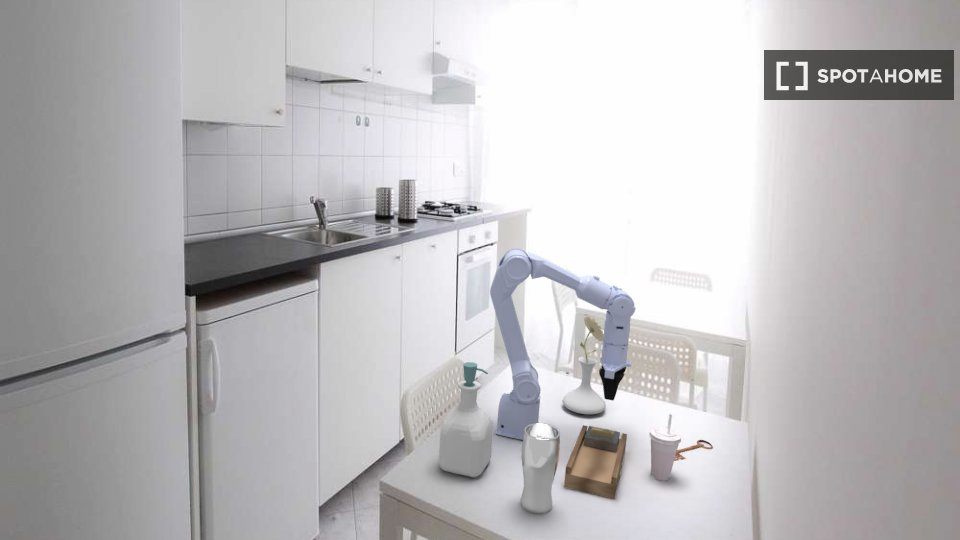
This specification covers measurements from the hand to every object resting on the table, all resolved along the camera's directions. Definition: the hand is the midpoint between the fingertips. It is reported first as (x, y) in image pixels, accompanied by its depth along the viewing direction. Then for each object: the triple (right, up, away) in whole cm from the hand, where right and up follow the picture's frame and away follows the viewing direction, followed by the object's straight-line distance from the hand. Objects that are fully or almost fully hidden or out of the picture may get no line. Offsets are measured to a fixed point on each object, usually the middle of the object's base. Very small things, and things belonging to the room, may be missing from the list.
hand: (609, 397), depth 134 cm
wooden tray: (-6, -13, -12) cm, 18 cm away
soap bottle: (-34, -12, -14) cm, 38 cm away
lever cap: (-3, -9, -7) cm, 12 cm away
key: (+18, -13, -2) cm, 22 cm away
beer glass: (-20, -15, -26) cm, 36 cm away
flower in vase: (-3, -7, +19) cm, 20 cm away
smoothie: (+8, -14, -13) cm, 21 cm away
